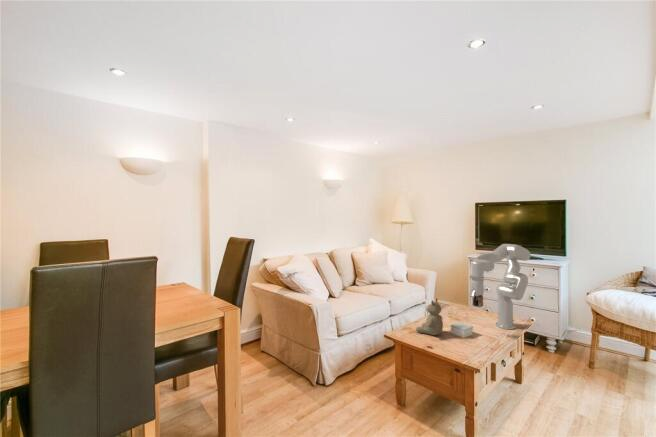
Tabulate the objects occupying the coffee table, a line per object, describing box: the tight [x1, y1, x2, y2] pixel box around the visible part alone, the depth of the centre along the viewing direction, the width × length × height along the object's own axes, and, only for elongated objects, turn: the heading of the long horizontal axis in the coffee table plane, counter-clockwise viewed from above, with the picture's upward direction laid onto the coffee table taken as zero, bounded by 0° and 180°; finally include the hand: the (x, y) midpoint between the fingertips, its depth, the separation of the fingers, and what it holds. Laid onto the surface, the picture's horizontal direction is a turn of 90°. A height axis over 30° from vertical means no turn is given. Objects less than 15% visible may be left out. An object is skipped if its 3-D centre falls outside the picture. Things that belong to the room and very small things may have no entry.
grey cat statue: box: [415, 297, 444, 336], centre depth 214 cm, size 21×16×25 cm
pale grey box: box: [449, 321, 474, 339], centre depth 211 cm, size 11×11×6 cm
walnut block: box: [471, 295, 484, 308], centre depth 208 cm, size 5×5×7 cm
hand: (477, 304), depth 208 cm, fingers closed on walnut block, 5 cm apart
